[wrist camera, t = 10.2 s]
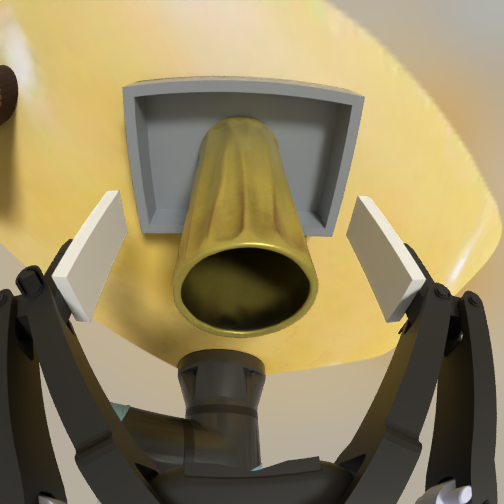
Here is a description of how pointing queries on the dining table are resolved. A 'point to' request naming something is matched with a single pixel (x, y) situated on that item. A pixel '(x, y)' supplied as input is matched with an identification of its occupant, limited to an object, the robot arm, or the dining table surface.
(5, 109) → the coffee mug
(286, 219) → the vase
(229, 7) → the dining table surface
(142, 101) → the tray
